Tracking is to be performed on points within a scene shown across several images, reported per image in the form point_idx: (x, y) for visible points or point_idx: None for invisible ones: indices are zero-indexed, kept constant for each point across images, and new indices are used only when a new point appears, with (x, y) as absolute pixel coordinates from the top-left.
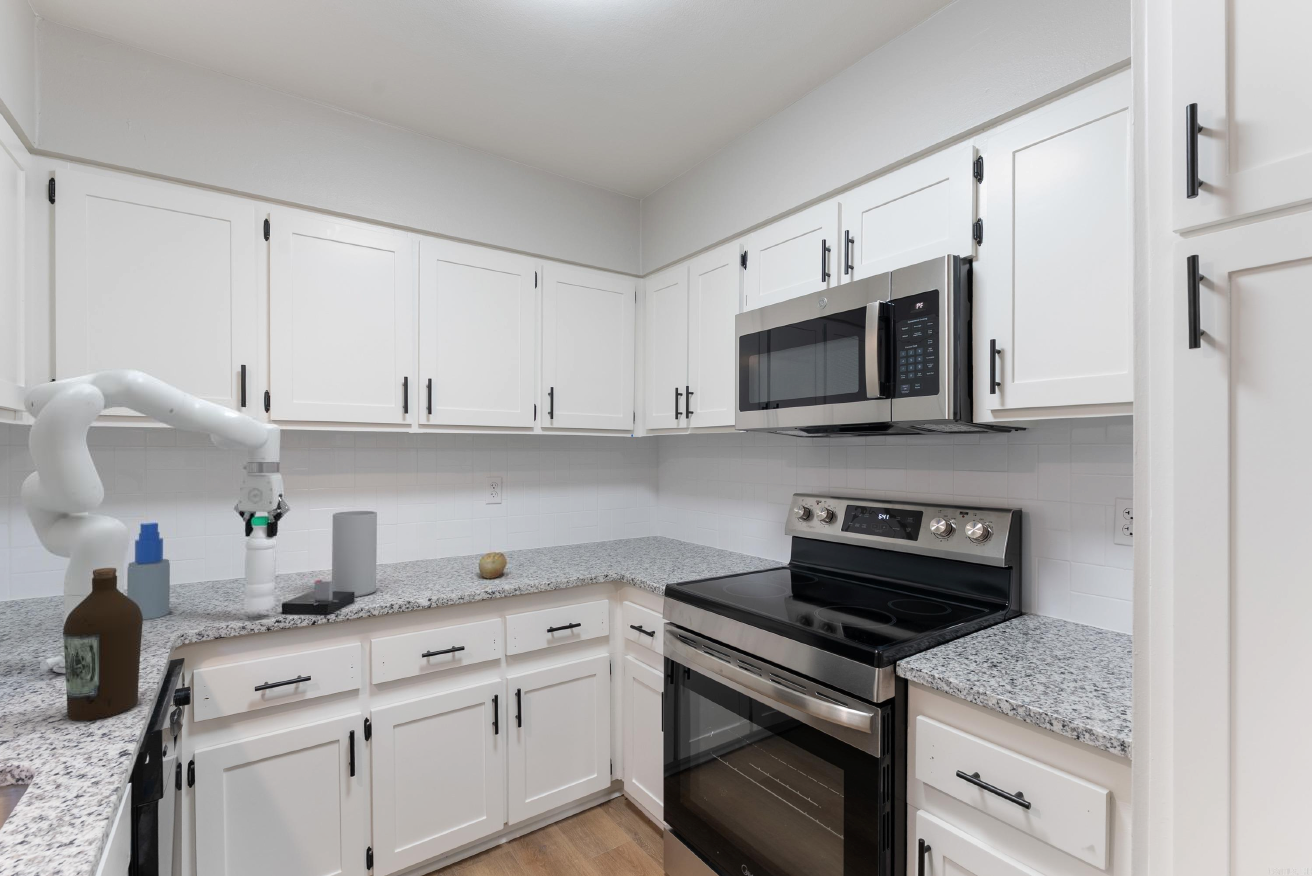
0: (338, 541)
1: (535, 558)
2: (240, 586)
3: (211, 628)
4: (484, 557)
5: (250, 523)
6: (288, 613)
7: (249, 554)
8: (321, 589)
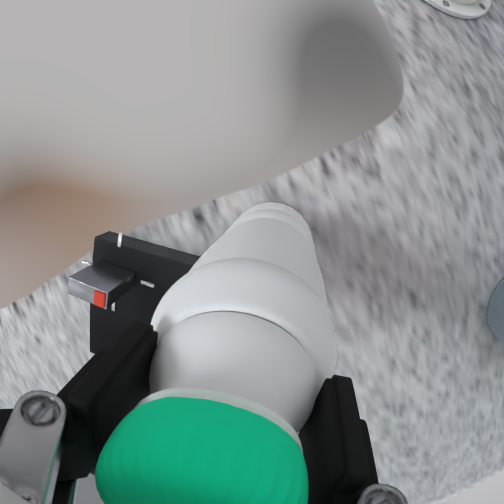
0: (92, 485)
1: None
2: (391, 483)
3: (356, 149)
4: None
5: (324, 478)
6: None
7: (288, 259)
8: (100, 276)
